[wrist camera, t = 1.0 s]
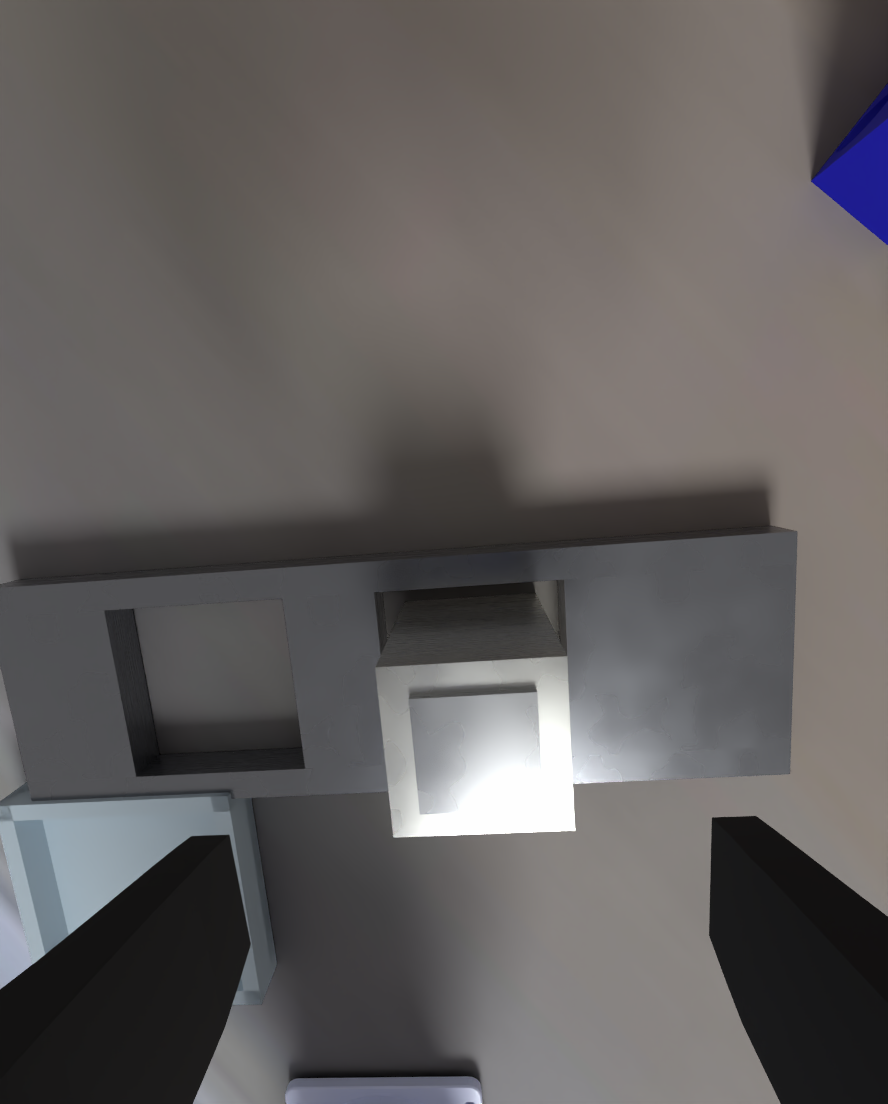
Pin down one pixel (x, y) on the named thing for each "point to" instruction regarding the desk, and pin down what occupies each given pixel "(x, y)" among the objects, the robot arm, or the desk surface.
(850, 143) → the blue cradle stand
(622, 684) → the rail
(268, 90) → the desk surface
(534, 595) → the grey rectangular block
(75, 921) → the parts tray
